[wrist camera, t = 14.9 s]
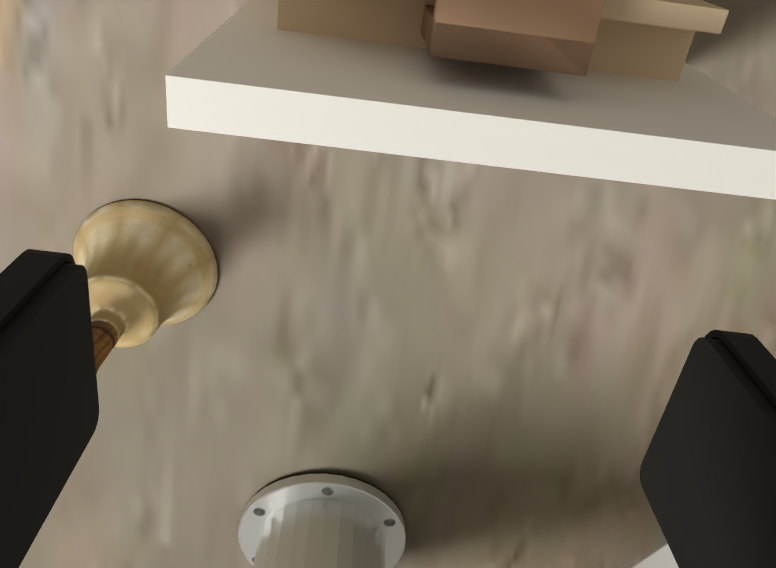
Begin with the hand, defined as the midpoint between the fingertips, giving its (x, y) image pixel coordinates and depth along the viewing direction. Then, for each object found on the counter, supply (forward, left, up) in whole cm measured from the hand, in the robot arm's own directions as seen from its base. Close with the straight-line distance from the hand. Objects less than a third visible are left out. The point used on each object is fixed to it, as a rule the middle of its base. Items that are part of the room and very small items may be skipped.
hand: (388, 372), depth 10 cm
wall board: (+1, -4, -26) cm, 26 cm away
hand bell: (-14, +12, -26) cm, 32 cm away
